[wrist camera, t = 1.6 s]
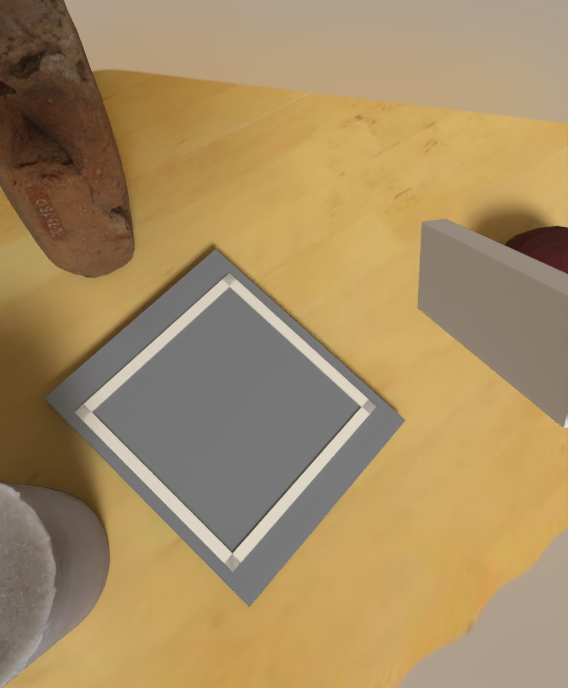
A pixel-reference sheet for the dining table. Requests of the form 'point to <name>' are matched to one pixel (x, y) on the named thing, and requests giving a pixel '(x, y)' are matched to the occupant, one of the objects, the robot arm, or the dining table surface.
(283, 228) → the dining table surface
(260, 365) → the slate tile
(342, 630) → the dining table surface
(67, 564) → the pillar candle
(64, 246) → the block
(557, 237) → the potato
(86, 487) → the dining table surface
